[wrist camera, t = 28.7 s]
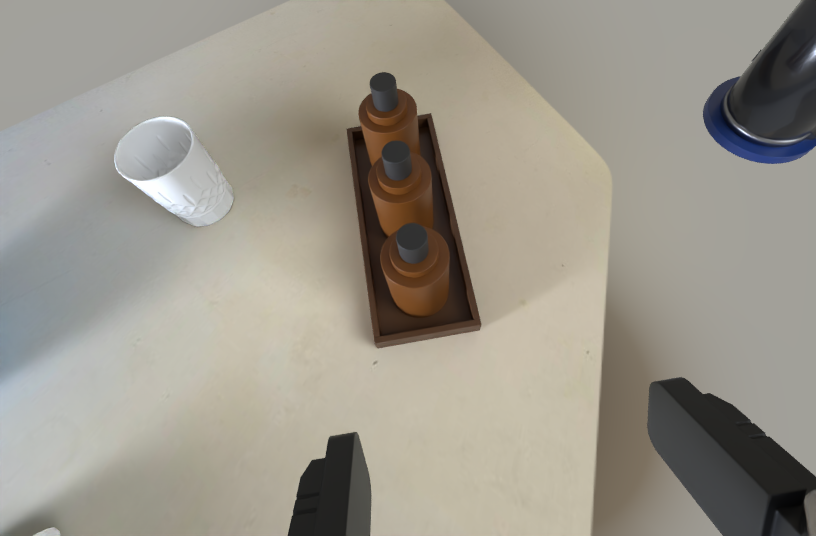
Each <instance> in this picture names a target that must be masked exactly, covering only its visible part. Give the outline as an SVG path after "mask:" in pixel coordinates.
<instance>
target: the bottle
mask: <svg viewBox="0 0 816 536" xmlns="http://www.w3.org/2000/svg"><path fill="white" fill-rule="evenodd" d="M449 259H450V256H449V248H448V246H447V243H446V241H445V240H444V239H443V237H442V236H441V235H440V234H439V233H437V232H436V231H434V230H433V229H431V228H428V227H425V226H421V225H419V224H417V223H408V224H405V225H403V226H402V227H401V228H400V229H399V230H397V231H395V232H394V233H393V234H392V235H390V236H389V237H388V239H387V240H386V241H385V243H384V245H383V247H382V250H381V255H380V261H381V266H382V269H383V272H384V275H385V278H386V281H387V284H388V287H389V289H390V292H391V295H392V298H393V301H394V303H395V305H396V306H397V308H398V309H399V310H400V311H401V312H403V313H404V314H406V315H408V316H411V317H415V318H425V317H429V316H432V315H434V314H435V313H437V312H438V311H440V310H441V309H442V307H443V306H444V305H445V303H446V301H447V298H448V293H449Z"/></svg>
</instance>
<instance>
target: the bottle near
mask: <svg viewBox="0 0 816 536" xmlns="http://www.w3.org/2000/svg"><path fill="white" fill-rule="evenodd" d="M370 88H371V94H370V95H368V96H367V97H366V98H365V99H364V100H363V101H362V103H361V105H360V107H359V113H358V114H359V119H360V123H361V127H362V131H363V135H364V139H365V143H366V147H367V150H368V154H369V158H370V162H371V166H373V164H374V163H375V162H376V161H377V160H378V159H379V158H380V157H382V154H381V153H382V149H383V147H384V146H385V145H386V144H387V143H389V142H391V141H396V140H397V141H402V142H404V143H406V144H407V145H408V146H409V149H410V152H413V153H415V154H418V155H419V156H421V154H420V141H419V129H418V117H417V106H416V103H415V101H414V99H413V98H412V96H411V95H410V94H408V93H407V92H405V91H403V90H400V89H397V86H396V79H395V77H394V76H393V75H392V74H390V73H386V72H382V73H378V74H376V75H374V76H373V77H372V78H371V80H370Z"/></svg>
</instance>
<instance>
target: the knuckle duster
mask: <svg viewBox="0 0 816 536" xmlns="http://www.w3.org/2000/svg"><path fill="white" fill-rule="evenodd" d="M33 536H60V532H59V530H58V529H56V528H55V527H52V528H48V529H46V530H43V531H41V532H39V533H37V534H35V535H33Z"/></svg>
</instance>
